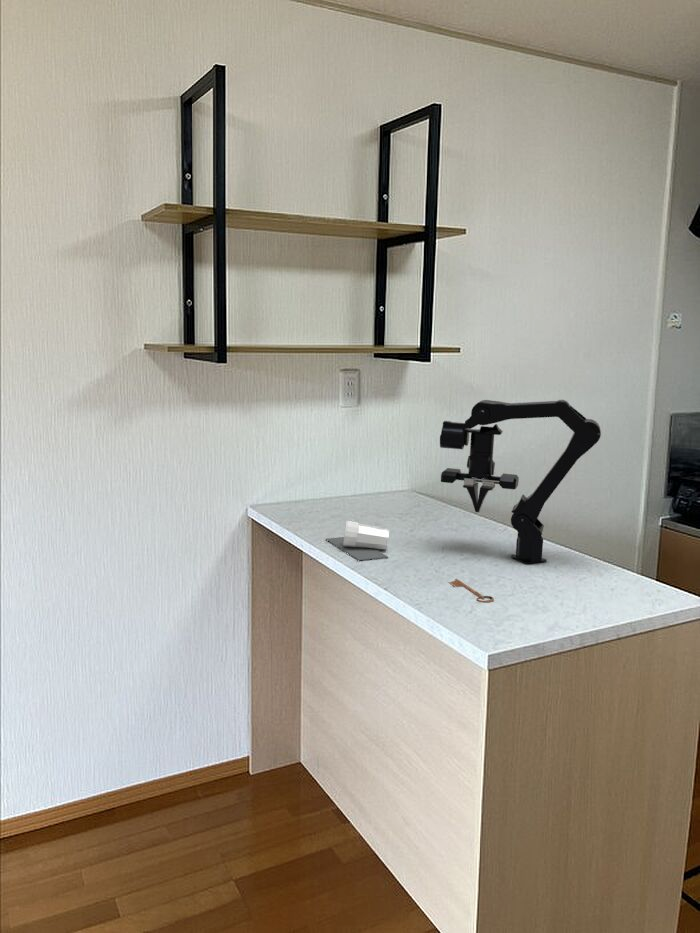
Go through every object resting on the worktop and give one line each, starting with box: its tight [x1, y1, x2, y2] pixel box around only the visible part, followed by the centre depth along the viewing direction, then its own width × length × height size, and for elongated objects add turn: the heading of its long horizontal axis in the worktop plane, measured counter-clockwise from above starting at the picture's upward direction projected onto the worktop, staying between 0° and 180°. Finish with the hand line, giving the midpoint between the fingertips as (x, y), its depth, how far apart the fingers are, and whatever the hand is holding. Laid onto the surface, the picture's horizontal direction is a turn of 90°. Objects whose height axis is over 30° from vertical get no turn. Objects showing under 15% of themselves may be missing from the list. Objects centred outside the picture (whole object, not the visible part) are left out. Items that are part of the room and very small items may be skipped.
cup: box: [343, 520, 390, 550], centre depth 211 cm, size 7×7×11 cm
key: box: [447, 578, 495, 604], centre depth 182 cm, size 6×1×15 cm
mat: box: [325, 536, 389, 562], centre depth 212 cm, size 20×8×1 cm, turn 26°
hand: (477, 511), depth 209 cm, fingers closed
